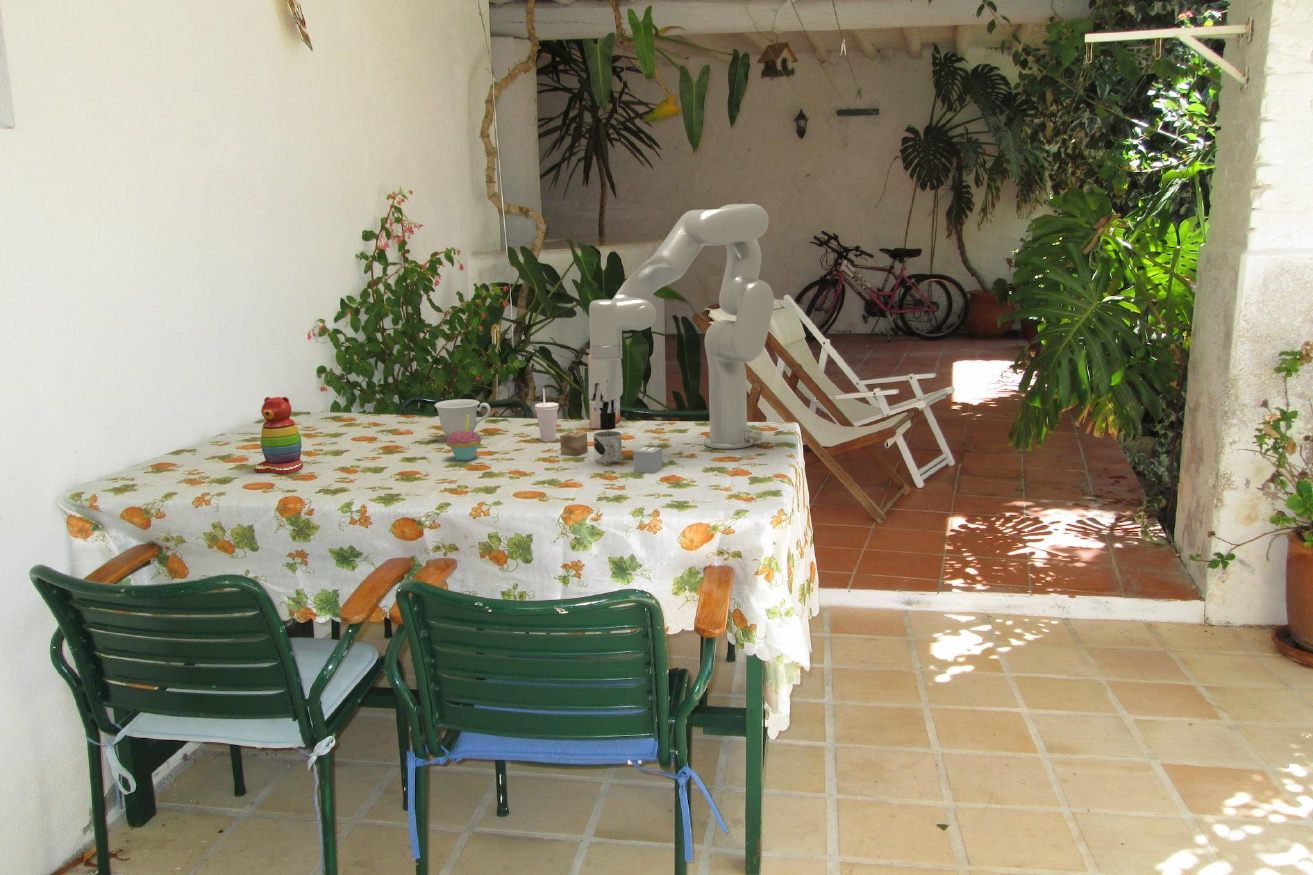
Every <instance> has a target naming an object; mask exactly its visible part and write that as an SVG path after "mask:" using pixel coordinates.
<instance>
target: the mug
mask: <svg viewBox="0 0 1313 875" xmlns="http://www.w3.org/2000/svg"><path fill="white" fill-rule="evenodd" d="M622 444H623V443H622V433H621V432H620V431H615V430H605V431H604V430H603V431H597V432H595V433H593V448H594V449H593V450H594V462H595V463H597V464H600V465H601V464H602V465H604V464H605V465H610V464H617V463H621V462H623V448H622Z"/></svg>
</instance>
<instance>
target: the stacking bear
mask: <svg viewBox="0 0 1313 875" xmlns="http://www.w3.org/2000/svg"><path fill="white" fill-rule="evenodd" d="M263 402H264V403H263V404H262V406H261V409H260V410H261V415H262V417H263V418H264V419H265V422H264V423H263V424H262V428H261V434H260V448H261V452H262V454H263V456H264V459H265V460H264V461H261V462H259V463H257V464H256V465H259V466H260V465H263V466H271V467H277V468H279V469H280V468H281V469H284V468H289V467H294V466H296V465H299V464H300V463H302V464H301V465H300V466H298V467H296V468H293V469H289V470H276V469H271V468H265V469H258V468H257V469H256V468H255V467H254V468H253V471H254V472H255V473H258V472H264V473H273V472H274V473H275V474H278V475H289V474H293V473H296V472H297V471H300V470H301V469H303V467H304V464H303V461H302V459H301V455H302V447H303V446H302V444H303V443H302V437H301V433H300V432H299V428H298V425H297V424H296V421H294V420H293V419H292V418H290V417H291V416H292V415H291V414H292V404H291V403H290V399H289V398H288V397H287V396H283V397H282V396H275V397H269V396H267V397H265V398H264V399H263ZM274 473H273V474H274Z"/></svg>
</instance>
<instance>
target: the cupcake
mask: <svg viewBox="0 0 1313 875" xmlns="http://www.w3.org/2000/svg"><path fill="white" fill-rule="evenodd" d="M468 414H469V412H468ZM468 425H469V415H466V429H465V431H457V432H453V433H452V434H451V435H449V436H448V435H447V438H446V442H445V445H446V446H447V447H448V448H450V449H451V451H452V453H453V455H454V458H455V460H457V461H461V462H462V461H466V462H467V461H472V460H474V459H475V458H476V454H477V452H478V451H477V450H478V448H479V446H480V445H481V441H482V437H481V436H480V435H479V434H478V433H477V432H475V431H474V432H472V431H470V430H468Z"/></svg>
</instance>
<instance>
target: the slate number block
mask: <svg viewBox="0 0 1313 875" xmlns="http://www.w3.org/2000/svg"><path fill="white" fill-rule="evenodd" d="M632 454H633V472H634V473H644V474H655V473H657V472H659V471H660V470H662V469H663V448H662V447H656V446H655V447H652V446H640V447H638V448H637V449H635V450H633V453H632Z"/></svg>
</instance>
